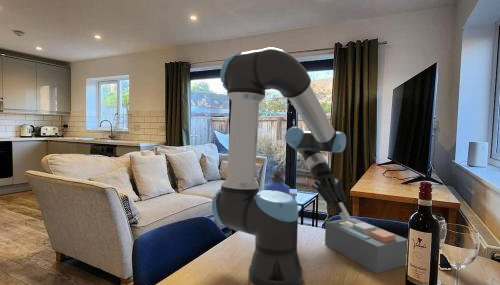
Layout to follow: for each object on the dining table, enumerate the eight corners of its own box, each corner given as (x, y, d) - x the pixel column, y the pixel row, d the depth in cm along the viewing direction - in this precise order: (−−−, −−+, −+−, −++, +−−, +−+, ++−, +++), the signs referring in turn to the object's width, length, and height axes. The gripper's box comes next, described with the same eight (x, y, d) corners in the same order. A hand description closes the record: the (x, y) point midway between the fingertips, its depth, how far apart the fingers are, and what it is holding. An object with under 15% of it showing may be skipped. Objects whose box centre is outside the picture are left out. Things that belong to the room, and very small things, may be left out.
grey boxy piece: (407, 265, 92) (408, 238, 91) (376, 273, 86) (377, 245, 86) (352, 238, 113) (353, 216, 112) (324, 244, 107) (325, 221, 107)
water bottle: (292, 234, 117) (293, 170, 115) (281, 241, 109) (283, 173, 107) (271, 229, 121) (272, 168, 120) (259, 236, 114) (260, 171, 112)
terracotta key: (394, 245, 91) (395, 234, 91) (383, 247, 89) (383, 237, 89) (381, 239, 96) (381, 229, 96) (370, 241, 94) (370, 231, 93)
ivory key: (357, 234, 105) (358, 225, 105) (346, 236, 103) (347, 227, 103) (347, 229, 109) (347, 221, 109) (336, 231, 107) (337, 222, 107)
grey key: (375, 236, 98) (375, 226, 98) (363, 238, 96) (364, 229, 96) (363, 231, 102) (363, 222, 102) (352, 233, 100) (352, 224, 100)
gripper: (326, 171, 125) (355, 222, 111) (301, 173, 120) (327, 228, 106) (335, 160, 120) (366, 212, 106) (309, 162, 115) (338, 217, 101)
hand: (347, 220), depth 106 cm, fingers closed
